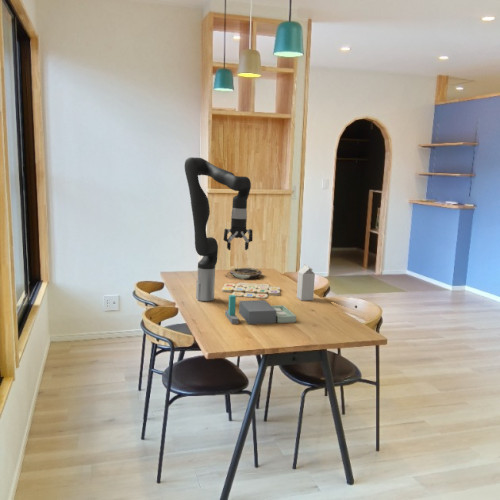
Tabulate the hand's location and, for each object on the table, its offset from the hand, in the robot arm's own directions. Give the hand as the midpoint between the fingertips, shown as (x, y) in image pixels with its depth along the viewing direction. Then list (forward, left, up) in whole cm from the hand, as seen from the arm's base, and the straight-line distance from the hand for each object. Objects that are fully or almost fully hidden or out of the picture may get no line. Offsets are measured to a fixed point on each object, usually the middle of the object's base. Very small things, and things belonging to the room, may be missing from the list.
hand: (237, 249), depth 244 cm
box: (+19, -17, -30) cm, 39 cm away
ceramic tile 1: (+18, -20, -27) cm, 38 cm away
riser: (+7, -17, -30) cm, 35 cm away
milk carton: (+43, +13, -30) cm, 54 cm away
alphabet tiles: (+18, +34, -31) cm, 49 cm away
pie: (+24, +71, -31) cm, 82 cm away
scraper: (-6, -18, -30) cm, 35 cm away
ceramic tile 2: (+18, -14, -27) cm, 35 cm away
